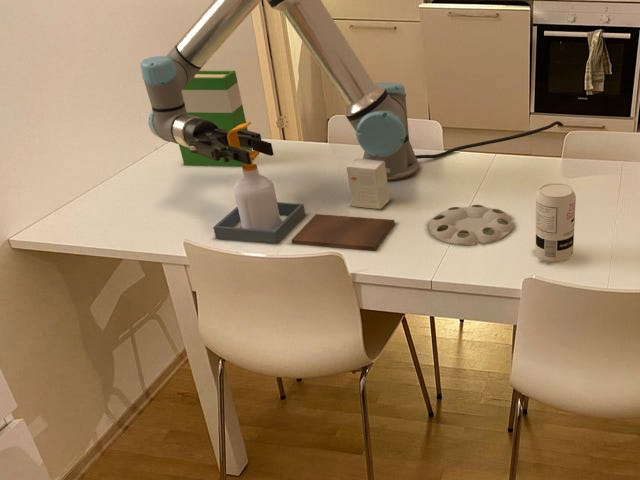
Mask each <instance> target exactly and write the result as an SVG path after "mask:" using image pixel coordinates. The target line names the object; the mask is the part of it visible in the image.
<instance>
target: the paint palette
mask: <svg viewBox="0 0 640 480" xmlns="http://www.w3.org/2000/svg"><path fill="white" fill-rule="evenodd" d="M498 221H500V222H502V223H504V224H502V223H499V222H498ZM445 227H446V229H445V230H442V231H439V230H440V229H442V228H445ZM513 227H514V225H513V222H511V218H510V216H508V214H507V213H506V212H505V211H504V210H501V209H498V208H493V209H490V208H487V207H486V206H484V205H482V204H472V205H470V206H468V207H463V208H462V207H459V206H452V207H449V208H447V209H446V210H445V211H444V212H443V213H441V214H439V215H436V216H434V217H433V218H432V219H431V220H430V221H429V232H430V234H431V235H432V237H434V238H435V239H437V240H439V241H441V242H443V243H447V244H451V245H456V246H475V245H476V244H478V243H481V244H482V245H484V244H490V243H494V242H496V241H499V240H501V239H503V238H504V237H506V236H508V234H510V233H511V232H512V231H513ZM491 230H493V231H494V233H493V234H491V235H490V234H486V233H484V232H488V231H491ZM463 234H465V235H466V234H467V235H468V236H465V237H459V236H458V235H463Z"/></svg>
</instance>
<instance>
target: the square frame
mask: <svg viewBox="0 0 640 480" xmlns="http://www.w3.org/2000/svg"><path fill="white" fill-rule="evenodd" d="M277 204H278V210H279V215H280V216H287V217H286V218H285V219H283V221H281V224H280V225H279V226H278V227H277V228H276V229H275V230H261V229H249V228H242V227H235V225H237V224H238V223H239V222H241V220H240V216H239V211H238V206H237V205H236V207H235V208H234V209H232V210H231V211H230V212H229V213H228V214H226V216H225V217H223V218H222V219H221V220H219V221H218V222H217V223H216V224H215V225H214V226H213V227H212V228H213V233H214V235H215V240H224V241H225V240H226V241H237V242H249V243H261V244H270V245H271V244H272V245H279V243H281V241H283V239H284V238H285V237H286V236H287V235H288V234H289V233H290V232H291V231H292V230H293V229H294V228H295V227H296V226H297V225H298V224H299V223H300V222H301V221H302V220H303V218H305V217H306V210H305V204H304V203H297V202H296V203H295V202H294V203H293V202H281V201H277Z"/></svg>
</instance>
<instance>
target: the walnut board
mask: <svg viewBox="0 0 640 480" xmlns="http://www.w3.org/2000/svg"><path fill="white" fill-rule="evenodd" d="M395 221H396V220H395V219H386V218H375V217H374V218H373V217H360V216H347V215H337V214H336V215H335V214H334V215H333V214H323V213H321V214H320V213H315V214H314V216H313V217H311V219H310V220H309V221H308V222H307V223H306V224H305V225H304V226H303V227H302V228H301V229H300V230H299V231H298V233H296V234H295V236H294V237H293V238H292V239H291V244H292V245H304V246H314V247H325V248H326V247H327V248H338V249H350V250H362V251H373V252H375V251H377V249H378V247H379V246H380V245H381V243H382V242H383V241H384V239H385V238H386V236H387V235H388V234H389V232H390V231H391V229H392V228H393V227H394V226H395V224H396V222H395Z"/></svg>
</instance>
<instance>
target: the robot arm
mask: <svg viewBox="0 0 640 480" xmlns="http://www.w3.org/2000/svg"><path fill="white" fill-rule="evenodd" d="M262 1H263V0H213V1H211V3H210V4H209V5H208V6H207V8H205V10H204V11H203V12H202V14H200V16H199V17H198V18H197V19H196V21H195V22H194V23H193V24H192V25H191V26H190V27H189V29H188V30H187V31H185V33H184V34H183V36H182V37H181V38H180V39H179V40H178V42H177V43H176V44H175V45H174V46H173V47H172V48H171V49H170V51H169V52H168V53H167V54H166V55H157V56H150V57H147V58H145V59H143V60H141V62H140V69H141V70H140V71H141V77H142V80H143V82H144V85H145V88H146V92H147V95H148V99H149V102H150V103H149V104H150V105H151V111H150V113H149V116H148V121H147V125H148V127H149V131H151V133H152V134H153V135H154V136H155V137H158V138H159V139H161V140H163V141H165V142H168V143H174V144H176V145H178V146H179V145H182V146H185V147H188V148H190V152H191V153H193V154H199V155H202V156H204V157H207V158H210V159H212V160H215V161H219V160H220V158H223V159H224V162H229V159H232V160H236V161H239V162H242V163H245V164H248V165H249V164H251V160H250V156H249V152H248V151H245V150H242V149H239V148H236V147H232V146H229V143H228V139H227V134H228V132H229V131H227V130H225V129H219V128H218V127H217V126H216V125H215V124H214V123H213V122H211V121H209V120H205V119H202V118H199V117H195V116H192V115H188V114H187V112H186V107H185V103H184V99H183V95H182V91H181V90H182V89H183V88H184V87H185V86H186V85H187V84H188V83H189V82H190V81H191V80H192V79H193V78H194V77H195V75H196V74H197V73H198V72H199V71H201V70H202V69H203V67H204V66H205V65H206V63H208V62H209V60H210V59H211V58H212V57H213V56H214V54H216V53H217V51H218V50H219V49H220V48H221V47H222V46H223V45H224V43H225V42H226V41H227V40H228V39H229V38H230V37H231V36H232V35H233V34H234V32H235V31H237V29H238V28H239V27H240V26H241V25H242V24H243V22H244V21H245V20H246V19H247V18H248V17H249V16H250V15H251V14H252V12H254V11H255V9H256V8H257V7H258V5H259V4H260V3H261V2H262ZM266 2H267V3H268V5H269V6H270V8H271V9H272V10H275V11H278V12H281V13H283V15H284V16H285V18H286V19H287V21H288V22H289V24H290V25H291V27H292V28H293V29H294V31H295V32H296V34H297V36H298V37H299V39H300V40H301V41H302V43H303V44H304V46H305V47H306V49H307V50H308V52H309V53H310V55H311V57H312V58H313V59H314V61H315V62H316V64H317V65H318V66H319V68H320V70H321V71H322V72H323V74H324V75H325V77H326V79H327V80H328V81H329V83H330V84H331V85H332V87H333V89H334V91H336V93H337V94H338V97H340V99H341V100H342V102H343V104H344V106H345V107H344V113H343V114H344V116H345V117H346V120H347V121H348V122H349V124H350V125H351V127H352V128H353V129H354V131H355V137H356V140H357V143H358V145H359V146H360V148H361V149H362V150H363V156H362V159H368V160H379V161H385V167H386V175H387V182H388V181H397V180H402V179H406V178H409V177H412V176H413V175H415V174H416V173H417V172H418V170H419V162H418V160H419V159H437V158H441V157H445V156H447V155H449V154H452V153H455V152H457V151H463V150H466V149H470V148H476V147H482V146H486V145H491V144H496V143H502V142H506V141H507V142H508V141H511V140H515V139H519V138H523V137H526V136H531V135H534V134H537V133H541V132H543V131H546V130H549V129H551V128H553V127H555V126H559V127H564V123H562V122H561V121H559V120H557V121H553V122H552V123H549V124H548V125H545V126H541V127H539V128H536V129H533V130H530V131H525V132H522V133H518V134H514V135H509V136H505V137H500V138H495V139H490V140H484V141H480V142H475V143H468V144H464V145H459V146H455V147H453V148H451V149H448V150H445V151H442V152H439V153H434V154H415V151H414V148H413V146H412V144H411V142H410V135H409V122H408V110H407V98H406V97H407V93H406V88H405V86H404V85H403V84H402V83H399V82H392V81H389V82H388V81H385V82H383V81H381V82H374V81H373V80H372V78H371V76H370V75H369V73H368V71H367V70H366V68H365V67H364V65H363V64H362V62H361V61H360V59H359V57H358V56H357V54H356V52H355V51H354V50H353V48H352V47H351V45H350V44H349V42H348V40H347V39H346V38H345V36H344V34H343V32H342V31H341V30H340V28H339V26H338V24H337V23H336V21H335V20H334V19H333V17H332V15H331V14H330V12H329V11H328V9H327V7H326V6H325V5H324V3H323V1H322V0H266ZM235 127H237V126H234V127H233V129H234V128H235ZM237 133H238V138H239V143H240V147H248V148H252V151H258V152H259V154H263V155H266V156H270V157H273V156H274V150H273V145H272V142H268V141H265V140H262V136H261V133H259V132H256V131H252V130H244V129H241V130H238V131H237ZM226 147H228V149H227V148H226Z"/></svg>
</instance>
